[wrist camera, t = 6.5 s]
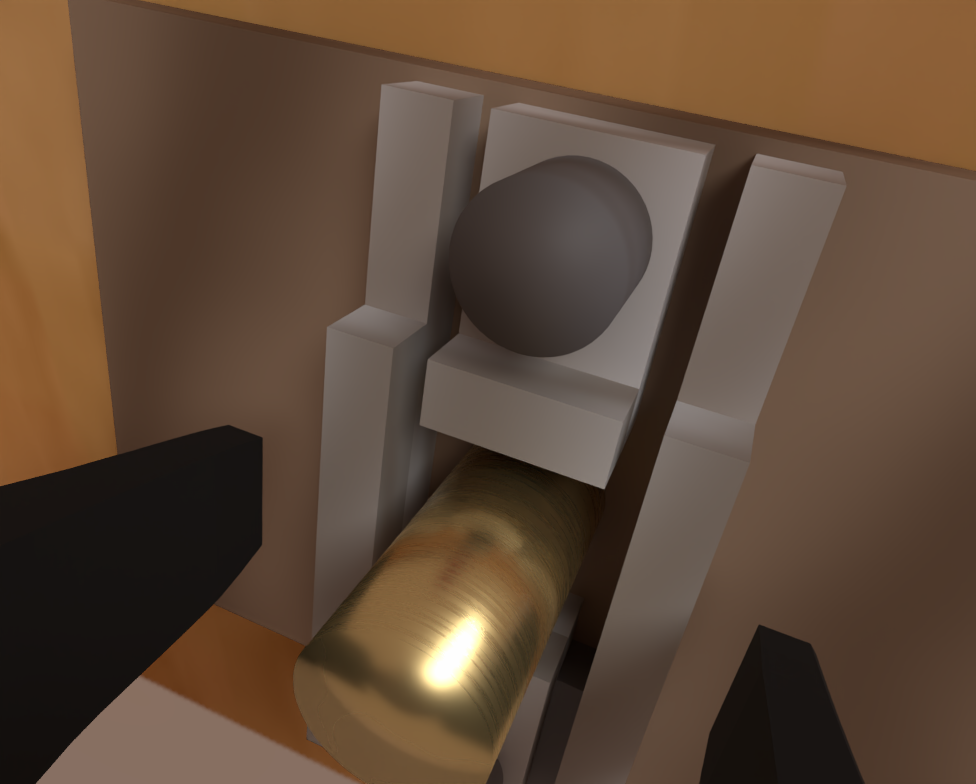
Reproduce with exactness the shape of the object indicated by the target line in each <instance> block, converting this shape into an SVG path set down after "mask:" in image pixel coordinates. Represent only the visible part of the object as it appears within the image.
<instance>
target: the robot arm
mask: <svg viewBox="0 0 976 784" xmlns="http://www.w3.org/2000/svg"><path fill="white" fill-rule="evenodd" d="M262 493H263V437H260V436H257V435H255V434H252V433H249V432H247V431H244V430H241V429H239V428H236V427H233V426H231V425H225V426H220V427H216V428H211V429H207V430H203V431H199V432H196V433H192V434H188V435H184V436H181V437H177V438H174V439H170V440H167V441H163V442H160V443H156V444H153V445H150V446H146V447H143V448H139V449H136V450H133V451H129V452H126V453H122V454H119V455H115V456H112V457H108V458H105V459H101V460H98V461H94V462H91V463H88V464H84V465H81V466H77V467H74V468H70V469H66V470H62V471H59V472H55V473H51V474H47V475H43V476H39V477H35V478H31V479H27V480H23V481H20V482H16V483H12V484H8V485H4V486H0V784H36V782H37V781H38V780H39V779H40V778H41V777H42V776H43V774H44V773H45V772H46V771H47V770H48V769H49V768H50V767H51V765H52V764H53V763H54V762H55V761H56V760H57V759H58V757H59V756H60V755H61V754H62V753H63V752H64V750H65V749H66V748H67V747H68V746H69V745H70V744H71V743H72V741H73V740H74V739H75V738H76V737H77V736H78V735H79V734H80V733H81V732H82V731H83V730H84V729H85V728H86V727H87V726H88V725H89V724H90V723H91V722H92V721H93V720H94V719H95V718H96V717H97V716H98V715H99V714H100V713H101V712H102V711H103V710H104V709H105V708H106V707H107V706H108V705H109V704H110V703H111V702H112V701H113V700H114V699H115V698H117V697H118V696H119V695H120V694H121V693H122V692H123V691H124V690H125V689H126V688H127V687H128V686H129V685H130V684H131V683H132V682H133V681H134V680H135V679H137V678H138V677H139V676H140V675H141V674H142V673H143V672H144V671H145V670H146V669H147V668H148V667H149V666H150V665H151V664H152V663H153V662H154V661H155V660H156V659H158V658H159V657H160V656H161V655H162V654H163V653H164V652H165V651H166V650H167V649H168V648H169V647H170V646H171V645H172V644H173V643H174V642H175V641H176V640H177V639H179V638H180V637H181V636H182V635H183V634H184V633H185V632H186V631H187V630H188V629H189V628H190V627H191V626H192V625H193V624H194V623H195V622H196V621H197V620H198V619H199V618H200V617H201V616H202V615H203V614H204V613H205V612H206V611H207V610H208V609H209V608H210V607H211V606H212V605H213V604H214V603H215V602H216V601H217V600H218V599H219V598H220V597H221V596H222V595H223V594H224V592H225V591H226V590H227V589H228V588H229V586H230V585H231V584H232V583H233V582H234V580H235V579H236V578H237V577H238V576H239V574H240V573H241V572H242V570H243V569H244V568H245V567H246V565H247V564H248V563H249V561H250V560H251V559H252V557H253V556H254V555H255V554H256V552H257V551H258V550H259V548H260V547H261V546H262ZM699 784H865V782H864V780H863V778H862V775H861V773H860V770H859V768H858V765H857V763H856V761H855V758H854V756H853V753H852V751H851V748H850V745H849V743H848V740H847V738H846V735H845V732H844V730H843V727H842V725H841V722H840V719H839V717H838V714H837V711H836V709H835V706H834V703H833V701H832V698H831V695H830V692H829V689H828V687H827V684H826V681H825V678H824V675H823V672H822V669H821V667H820V664H819V661H818V658H817V655H816V653H815V651H814V649H813V647H812V645H811V644H810V643H808V642H805V641H802V640H800V639H797V638H794V637H792V636H789V635H786V634H784V633H781V632H778V631H776V630H773V629H770V628H768V627H765V626H762V625H760V624H759V625H758V627H757V629H756V632H755V634H754V636H753V638H752V640H751V643H750V645H749V647H748V649H747V651H746V654H745V656H744V658H743V660H742V662H741V665H740V667H739V669H738V671H737V673H736V676H735V678H734V680H733V682H732V684H731V687H730V689H729V691H728V693H727V695H726V698H725V700H724V702H723V704H722V706H721V709H720V711H719V713H718V715H717V717H716V720H715V722H714V724H713V726H712V728H711V731H710V733H709V737H708V742H707V747H706V752H705V757H704V762H703V767H702V771H701V776H700V782H699Z"/></svg>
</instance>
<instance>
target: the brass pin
mask: <svg viewBox="0 0 976 784" xmlns="http://www.w3.org/2000/svg"><path fill="white" fill-rule="evenodd" d="M605 501H606V493H605V489H602V488H599V487H596V486H593V485H590V484H587V483H584V482H581V481H579V480H576V479H573V478H570V477H567V476H564V475H561V474H559V473H556V472H553V471H550V470H547V469H544V468H541V467H538V466H536V465H533V464H530V463H527V462H524V461H521V460H518V459H515V458H513V457H510V456H507V455H504V454H501V453H498V452H495V451H492V450H490V449H487V448H484V447H481V446H478V445H475V444H474V445H473V446H472V448H471V449H470V450H469V451H468V452H467V454H466V455H465V456H464V457H463V458H462V460H461V461H460V462H459V463H458V464H457V466H456V467H455V468H454V469H453V470H452V472H451V473H450V474H449V475H448V476H447V478H446V479H445V480H444V481H443V482H442V484H441V485H440V486H439V487H438V488H437V490H436V491H435V492H434V493H433V494H432V496H431V497H430V498H429V499H428V500H427V502H426V503H425V504H424V505H423V506H422V508H421V509H420V510H419V511H418V512H417V514H416V515H415V516H414V517H413V518H412V520H411V521H410V522H409V523H408V524H407V526H406V527H405V528H404V529H403V530H402V532H401V533H400V534H399V535H398V536H397V538H396V539H395V540H394V541H393V542H392V544H391V545H390V546H389V547H388V548H387V550H386V551H385V552H384V553H383V554H382V556H381V557H380V558H379V559H378V560H377V562H376V563H375V564H374V565H373V566H372V568H371V569H370V570H369V571H368V572H367V574H366V575H365V576H364V577H363V578H362V580H361V581H360V582H359V583H358V584H357V586H356V587H355V588H354V589H353V590H352V592H351V593H350V594H349V595H348V596H347V598H346V599H345V600H344V601H343V602H342V604H341V605H340V606H339V607H338V608H337V610H336V611H335V612H334V613H333V614H332V616H331V617H330V618H329V619H328V620H327V622H326V623H325V624H324V625H323V626H322V628H321V629H320V630H319V631H318V632H317V634H316V635H315V636H314V637H313V638H312V640H311V641H310V642H309V643H308V644H307V646H306V647H305V648H304V649H303V651H302V652H301V654H300V655H299V657H298V659H297V661H296V664H295V668H294V673H293V687H294V694H295V698H296V701H297V705H298V707H299V710H300V712H301V714H302V716H303V718H304V720H305V722H306V724H307V726H308V727H309V729H310V730H311V732H312V733H313V735H314V736H315V738H316V739H317V740H318V741H319V743H320V744H321V745H322V747H323V748H324V749H325V750H326V751H327V752H328V753H329V754H330V755H331V756H332V757H333V758H334V759H335V760H336V761H337V762H338V763H339V764H340V765H342V766H343V767H344V768H345V769H347V770H348V771H349V772H350V773H352V774H353V775H354V776H356V777H357V778H359V779H360V780H362V781H363V782H365V783H367V784H486V782H487V780H488V778H489V775H490V773H491V771H492V769H493V766H494V764H495V762H496V759H497V757H498V755H499V752H500V750H501V748H502V746H503V743H504V741H505V739H506V736H507V734H508V732H509V729H510V727H511V725H512V723H513V720H514V718H515V716H516V713H517V711H518V709H519V706H520V704H521V702H522V700H523V697H524V695H525V693H526V690H527V688H528V686H529V683H530V681H531V679H532V677H533V674H534V672H535V670H536V667H537V665H538V663H539V660H540V658H541V656H542V653H543V651H544V649H545V647H546V644H547V642H548V640H549V637H550V635H551V633H552V630H553V628H554V626H555V624H556V621H557V619H558V617H559V614H560V612H561V610H562V607H563V605H564V603H565V601H566V598H567V596H568V594H569V591H570V589H571V587H572V584H573V582H574V580H575V578H576V575H577V573H578V571H579V568H580V566H581V564H582V561H583V559H584V557H585V555H586V552H587V550H588V548H589V545H590V543H591V541H592V538H593V536H594V534H595V531H596V529H597V527H598V525H599V522H600V520H601V518H602V515H603V512H604V508H605Z"/></svg>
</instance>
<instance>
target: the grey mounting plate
mask: <svg viewBox="0 0 976 784" xmlns="http://www.w3.org/2000/svg"><path fill="white" fill-rule="evenodd" d="M68 7H69V16H70V25H71V34H72V43H73V52H74V61H75V70H76V79H77V88H78V98H79V107H80V116H81V125H82V134H83V143H84V152H85V161H86V170H87V179H88V189H89V198H90V207H91V216H92V225H93V234H94V243H95V252H96V261H97V270H98V279H99V289H100V298H101V307H102V316H103V325H104V334H105V343H106V352H107V361H108V370H109V379H110V389H111V398H112V407H113V416H114V425H115V434H116V443H117V452H118V455H119V454H122V453H126V452H129V451H133V450H136V449H139V448H143V447H146V446H150V445H153V444H156V443H160V442H163V441H167V440H170V439H174V438H177V437H181V436H184V435H188V434H192V433H196V432H199V431H203V430H207V429H211V428H216V427H220V426H225V425H231V426H233V427H236V428H239V429H241V430H244V431H247V432H249V433H252V434H255V435H257V436H260V437H263V493H262V546H261V547H260V548H259V550H258V551H257V552H256V554H255V555H254V556H253V557H252V559H251V560H250V561H249V563H248V564H247V565H246V567H245V568H244V569H243V570H242V572H241V573H240V574H239V576H238V577H237V578H236V579H235V580H234V582H233V583H232V584H231V585H230V586H229V588H228V589H227V590H226V591H225V592H224V594H223V595H222V596H221V597H220V598H219V599H218V600H217V601H216V602H215V603H214V604H215V605H217V606H219V607H221V608H224V609H226V610H228V611H230V612H232V613H235V614H237V615H239V616H241V617H243V618H246V619H248V620H250V621H252V622H254V623H257V624H259V625H261V626H263V627H265V628H268V629H270V630H272V631H274V632H276V633H279V634H281V635H283V636H285V637H287V638H289V639H292V640H294V641H296V642H298V643H300V644H303V645H305V646H307V644H308V643H309V642H310V641H311V640H312V638H313V637H314V636H315V635H316V634H317V632H318V631H319V630H320V629H321V628H322V626H323V625H324V624H325V623H326V622H327V620H328V619H329V618H330V617H331V616H332V614H333V613H334V612H335V611H336V610H337V608H338V607H339V606H340V605H341V604H342V602H343V601H344V600H345V599H346V598H347V596H348V595H349V594H350V593H351V592H352V590H353V589H354V588H355V587H356V586H357V584H358V583H359V582H360V581H361V580H362V578H363V577H364V576H365V575H366V574H367V572H368V571H369V570H370V569H371V568H372V566H373V565H374V564H375V563H376V562H377V560H378V559H379V558H380V557H381V556H382V554H383V553H384V552H385V551H386V550H387V548H388V547H389V546H390V545H391V544H392V542H393V541H394V540H395V539H396V538H397V536H398V535H399V534H400V533H401V532H402V530H403V529H404V528H405V527H406V526H407V524H408V523H409V522H410V521H411V520H412V518H413V517H414V516H415V515H416V514H417V512H418V511H419V510H420V509H421V508H422V506H423V505H424V504H425V503H426V502H427V500H428V499H429V498H430V497H431V496H432V494H433V493H434V492H435V491H436V490H437V488H438V487H439V486H440V485H441V484H442V482H443V481H444V480H445V479H446V478H447V476H448V475H449V474H450V473H451V472H452V470H453V469H454V468H455V467H456V466H457V464H458V463H459V462H460V461H461V460H462V458H463V457H464V456H465V455H466V454H467V452H468V451H469V450H470V449H471V448H472V446H473V445H474V444H475V445H478V446H481V447H484V448H487V449H490V450H492V451H495V452H498V453H501V454H504V455H507V456H510V457H513V458H515V459H518V460H521V461H524V462H527V463H530V464H533V465H536V466H538V467H541V468H544V469H547V470H550V471H553V472H556V473H559V474H561V475H564V476H567V477H570V478H573V479H576V480H579V481H581V482H584V483H587V484H590V485H593V486H596V487H599V488H602V489H605V493H606V501H605V508H604V512H603V515H602V518H601V520H600V522H599V525H598V527H597V529H596V531H595V534H594V536H593V538H592V541H591V543H590V545H589V548H588V550H587V552H586V555H585V557H584V559H583V561H582V564H581V566H580V568H579V571H578V573H577V575H576V578H575V580H574V582H573V584H572V587H571V589H570V591H569V594H568V596H567V598H566V601H565V603H564V605H563V607H562V610H561V612H560V614H559V617H558V619H557V621H556V624H555V626H554V628H553V630H552V633H551V635H550V637H549V640H548V642H547V644H546V647H545V649H544V651H543V653H542V656H541V658H540V660H539V663H538V665H537V667H536V670H535V672H534V674H533V677H532V679H531V681H530V683H529V686H528V688H527V690H526V693H525V695H524V697H523V700H522V702H521V704H520V706H519V709H518V711H517V713H516V716H515V718H514V720H513V723H512V725H511V727H510V729H509V732H508V734H507V736H506V739H505V741H504V743H503V746H502V748H501V750H500V752H499V755H498V757H497V759H496V762H495V764H494V766H493V769H492V771H491V773H490V775H489V778H488V780H487V782H486V784H699V782H700V776H701V771H702V767H703V762H704V757H705V752H706V747H707V742H708V737H709V733H710V731H711V728H712V726H713V724H714V722H715V720H716V717H717V715H718V713H719V711H720V709H721V706H722V704H723V702H724V700H725V698H726V695H727V693H728V691H729V689H730V687H731V684H732V682H733V680H734V678H735V676H736V673H737V671H738V669H739V667H740V665H741V662H742V660H743V658H744V656H745V654H746V651H747V649H748V647H749V645H750V643H751V640H752V638H753V636H754V634H755V632H756V629H757V627H758V625H759V624H760V625H762V626H765V627H768V628H770V629H773V630H776V631H778V632H781V633H784V634H786V635H789V636H792V637H794V638H797V639H800V640H802V641H805V642H808V643H810V644H811V645H812V647H813V649H814V651H815V653H816V655H817V658H818V661H819V664H820V667H821V669H822V672H823V675H824V678H825V681H826V684H827V687H828V689H829V692H830V695H831V698H832V701H833V703H834V706H835V709H836V711H837V714H838V717H839V719H840V722H841V725H842V727H843V730H844V732H845V735H846V738H847V740H848V743H849V745H850V748H851V751H852V753H853V756H854V758H855V761H856V763H857V765H858V768H859V770H860V773H861V775H862V778H863V780H864V782H865V784H976V171H972V170H967V169H962V168H957V167H952V166H947V165H943V164H938V163H933V162H928V161H923V160H918V159H913V158H908V157H903V156H898V155H894V154H889V153H884V152H879V151H874V150H869V149H864V148H859V147H854V146H850V145H845V144H840V143H835V142H830V141H825V140H820V139H815V138H810V137H805V136H801V135H796V134H791V133H786V132H781V131H776V130H771V129H766V128H761V127H757V126H752V125H747V124H742V123H737V122H732V121H727V120H722V119H717V118H712V117H708V116H703V115H698V114H693V113H688V112H683V111H678V110H673V109H668V108H664V107H659V106H654V105H649V104H644V103H639V102H634V101H629V100H624V99H619V98H615V97H610V96H605V95H600V94H595V93H590V92H585V91H580V90H575V89H571V88H566V87H561V86H556V85H551V84H546V83H541V82H536V81H531V80H526V79H522V78H517V77H512V76H507V75H502V74H497V73H492V72H487V71H482V70H478V69H473V68H468V67H463V66H458V65H453V64H448V63H443V62H438V61H433V60H429V59H424V58H419V57H414V56H409V55H404V54H399V53H394V52H389V51H384V50H380V49H375V48H370V47H365V46H360V45H355V44H350V43H345V42H340V41H336V40H331V39H326V38H321V37H316V36H311V35H306V34H301V33H296V32H291V31H287V30H282V29H277V28H272V27H267V26H262V25H257V24H252V23H247V22H243V21H238V20H233V19H228V18H223V17H218V16H213V15H208V14H203V13H198V12H194V11H189V10H184V9H179V8H174V7H169V6H164V5H159V4H154V3H150V2H145V1H140V0H68ZM307 740H309V741H311V742H313V743H316V744H318V745H320V746H322V745H321V744H320V743H319V741H318V740H317V739H316V738H315V736H314V735H313V733H312V732H311V730H310V729H309V727H308V726H307Z"/></svg>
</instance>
